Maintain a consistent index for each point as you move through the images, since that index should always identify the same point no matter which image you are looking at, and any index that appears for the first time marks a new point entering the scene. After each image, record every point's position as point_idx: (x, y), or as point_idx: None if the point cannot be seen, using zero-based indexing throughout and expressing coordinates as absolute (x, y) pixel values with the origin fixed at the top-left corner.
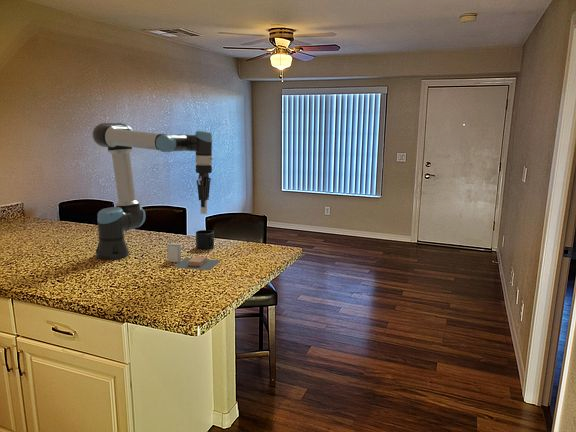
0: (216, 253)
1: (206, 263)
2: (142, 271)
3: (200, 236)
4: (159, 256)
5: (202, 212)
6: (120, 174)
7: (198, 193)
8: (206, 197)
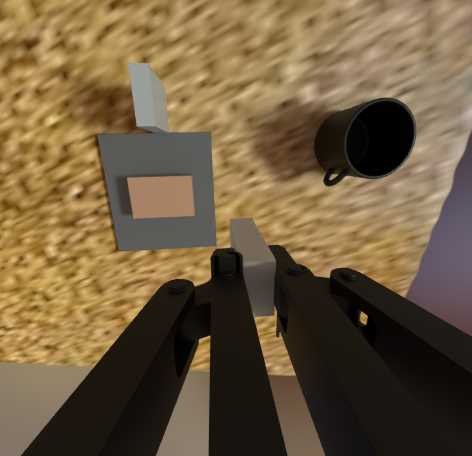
0: (291, 201)
1: (173, 219)
2: (25, 44)
3: (338, 136)
4: (208, 16)
5: (230, 235)
6: None
7: (112, 352)
8: (280, 331)
